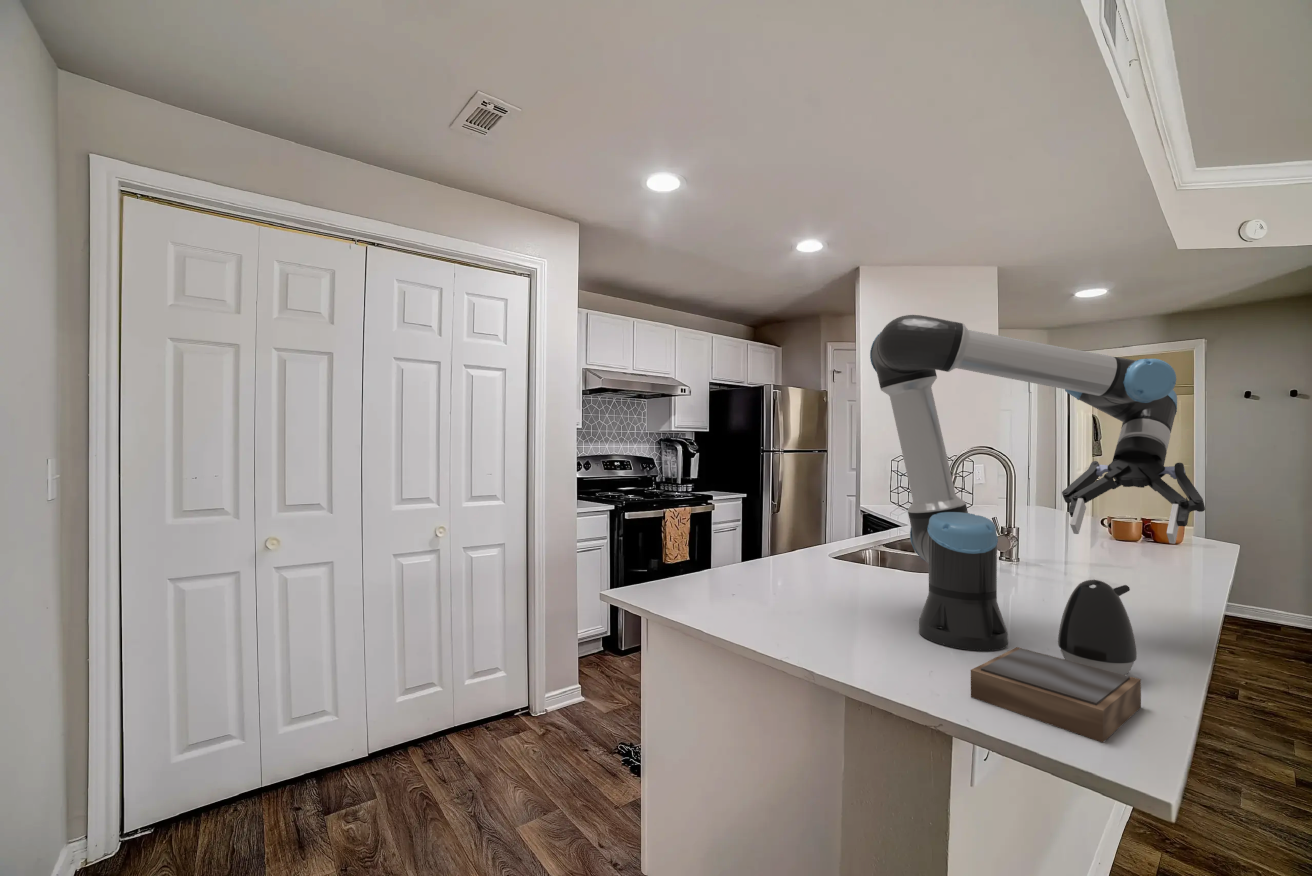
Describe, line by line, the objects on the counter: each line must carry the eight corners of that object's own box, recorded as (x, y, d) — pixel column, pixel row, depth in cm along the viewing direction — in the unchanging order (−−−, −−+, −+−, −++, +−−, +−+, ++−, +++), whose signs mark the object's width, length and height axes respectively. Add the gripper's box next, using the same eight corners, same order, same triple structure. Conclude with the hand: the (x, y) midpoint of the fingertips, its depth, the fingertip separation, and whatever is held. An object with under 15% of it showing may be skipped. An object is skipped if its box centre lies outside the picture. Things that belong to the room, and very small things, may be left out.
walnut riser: (1103, 742, 72) (1102, 708, 72) (970, 697, 85) (970, 667, 85) (1141, 707, 81) (1140, 677, 81) (1016, 671, 94) (1016, 645, 94)
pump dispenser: (1155, 686, 89) (1155, 588, 89) (1087, 686, 89) (1087, 587, 89) (1104, 661, 99) (1104, 573, 99) (1044, 661, 99) (1043, 572, 99)
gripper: (1234, 462, 103) (1221, 557, 93) (1069, 460, 122) (1044, 538, 113) (1229, 433, 99) (1214, 527, 90) (1060, 435, 119) (1034, 513, 110)
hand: (1120, 533), depth 101 cm, fingers open, 13 cm apart
